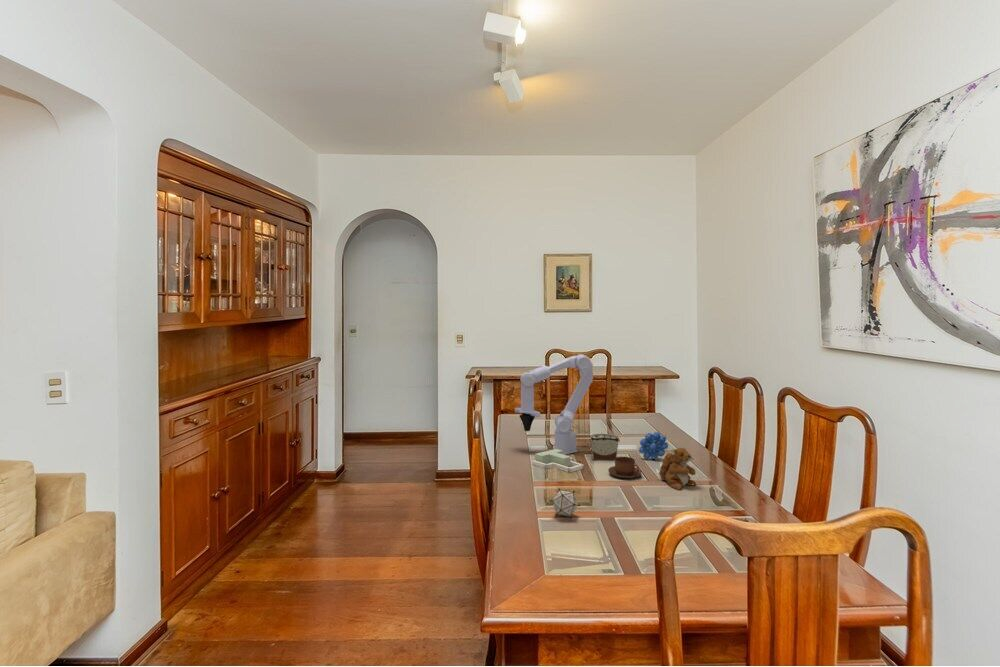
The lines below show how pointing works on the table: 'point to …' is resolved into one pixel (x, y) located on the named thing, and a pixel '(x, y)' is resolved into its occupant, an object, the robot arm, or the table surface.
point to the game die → (565, 503)
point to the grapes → (653, 445)
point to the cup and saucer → (625, 468)
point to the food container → (604, 447)
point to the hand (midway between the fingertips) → (527, 430)
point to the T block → (553, 457)
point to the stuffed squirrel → (677, 469)
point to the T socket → (560, 466)
